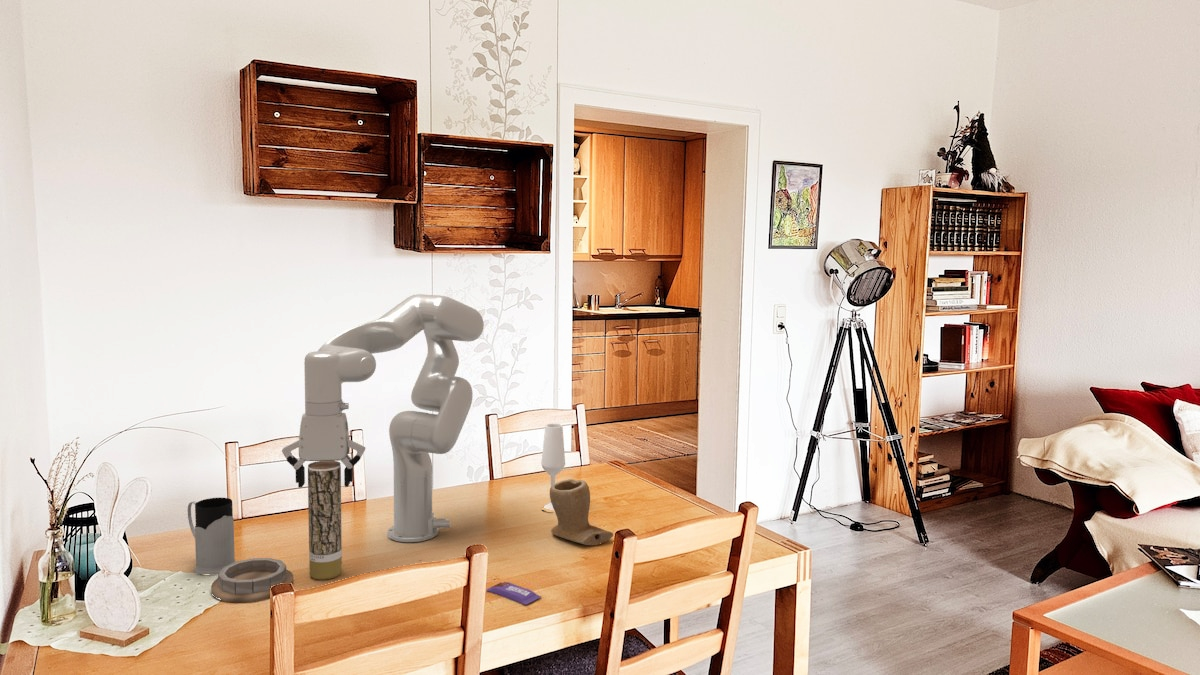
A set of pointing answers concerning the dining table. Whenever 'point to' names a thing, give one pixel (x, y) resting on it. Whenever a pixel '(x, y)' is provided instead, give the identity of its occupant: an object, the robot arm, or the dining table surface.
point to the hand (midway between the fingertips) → (324, 485)
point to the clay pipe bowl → (575, 513)
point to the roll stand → (250, 580)
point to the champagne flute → (553, 453)
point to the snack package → (514, 592)
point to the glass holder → (213, 534)
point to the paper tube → (324, 519)
